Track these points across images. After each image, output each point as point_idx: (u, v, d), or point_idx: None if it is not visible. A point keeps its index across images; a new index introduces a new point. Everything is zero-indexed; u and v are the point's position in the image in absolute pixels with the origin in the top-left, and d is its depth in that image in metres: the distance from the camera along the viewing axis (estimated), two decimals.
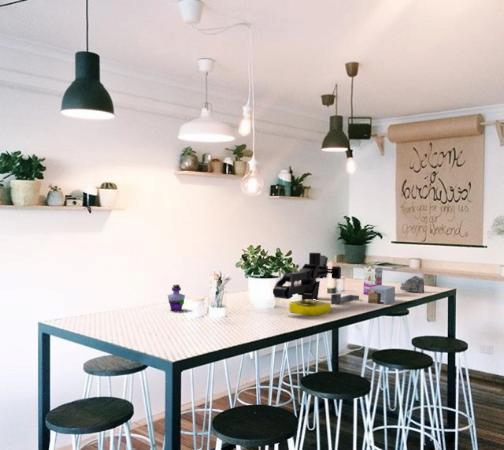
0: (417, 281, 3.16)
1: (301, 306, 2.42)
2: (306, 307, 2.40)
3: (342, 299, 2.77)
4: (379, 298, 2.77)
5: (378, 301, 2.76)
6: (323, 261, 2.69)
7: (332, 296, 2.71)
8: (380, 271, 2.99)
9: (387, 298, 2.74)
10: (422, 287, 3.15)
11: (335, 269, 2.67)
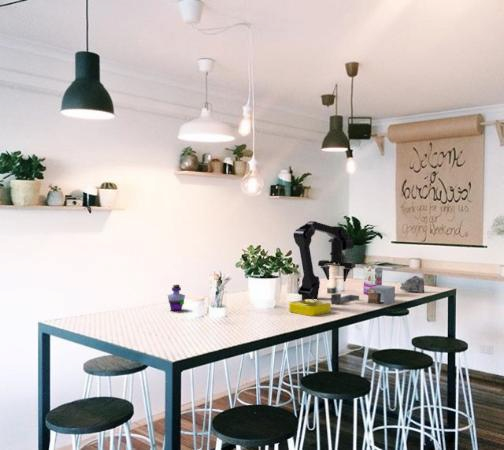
0: (417, 281, 3.16)
1: (301, 306, 2.42)
2: (306, 307, 2.40)
3: (342, 299, 2.77)
4: (379, 298, 2.77)
5: (378, 301, 2.76)
6: None
7: (332, 296, 2.71)
8: (380, 271, 2.99)
9: (387, 298, 2.74)
10: (422, 287, 3.16)
11: None
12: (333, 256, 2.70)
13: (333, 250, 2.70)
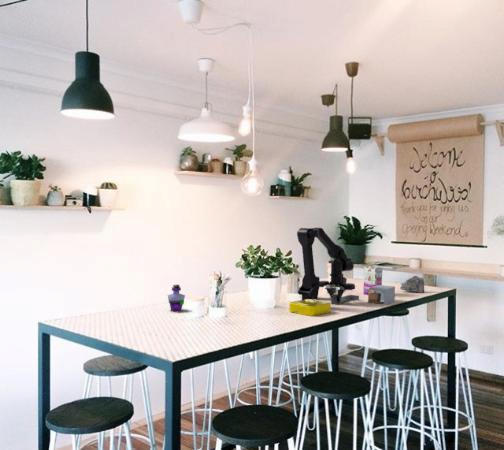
0: (417, 281, 3.16)
1: (301, 306, 2.42)
2: (306, 307, 2.40)
3: (342, 299, 2.77)
4: (379, 298, 2.77)
5: (378, 301, 2.76)
6: None
7: (332, 296, 2.71)
8: (380, 271, 2.99)
9: (387, 298, 2.74)
10: (422, 287, 3.16)
11: (351, 283, 2.69)
12: (333, 277, 2.70)
13: (333, 271, 2.70)
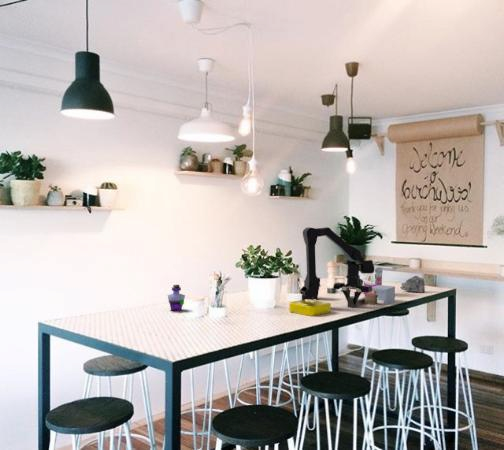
0: (417, 281, 3.16)
1: (301, 306, 2.42)
2: (306, 307, 2.40)
3: (358, 302, 2.69)
4: (376, 299, 2.73)
5: (375, 302, 2.72)
6: None
7: (348, 299, 2.62)
8: (380, 271, 2.99)
9: (387, 298, 2.74)
10: (422, 287, 3.16)
11: (368, 285, 2.61)
12: (349, 279, 2.62)
13: (348, 273, 2.63)
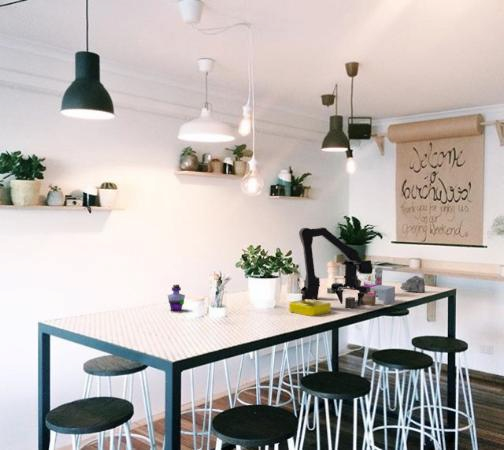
0: (417, 281, 3.16)
1: (301, 306, 2.42)
2: (306, 307, 2.40)
3: (356, 303, 2.67)
4: (374, 300, 2.71)
5: (373, 303, 2.70)
6: None
7: (346, 300, 2.60)
8: (380, 271, 2.99)
9: (387, 298, 2.74)
10: (422, 287, 3.16)
11: None
12: (347, 279, 2.59)
13: (345, 273, 2.61)
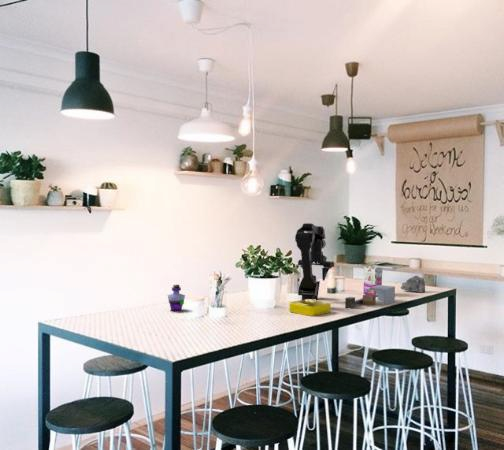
0: (417, 281, 3.17)
1: (301, 306, 2.42)
2: (306, 307, 2.40)
3: (356, 303, 2.67)
4: (374, 300, 2.71)
5: (373, 303, 2.70)
6: None
7: (346, 300, 2.60)
8: (380, 271, 2.99)
9: (387, 298, 2.74)
10: (422, 287, 3.16)
11: (330, 261, 2.71)
12: (312, 255, 2.72)
13: (315, 249, 2.71)
